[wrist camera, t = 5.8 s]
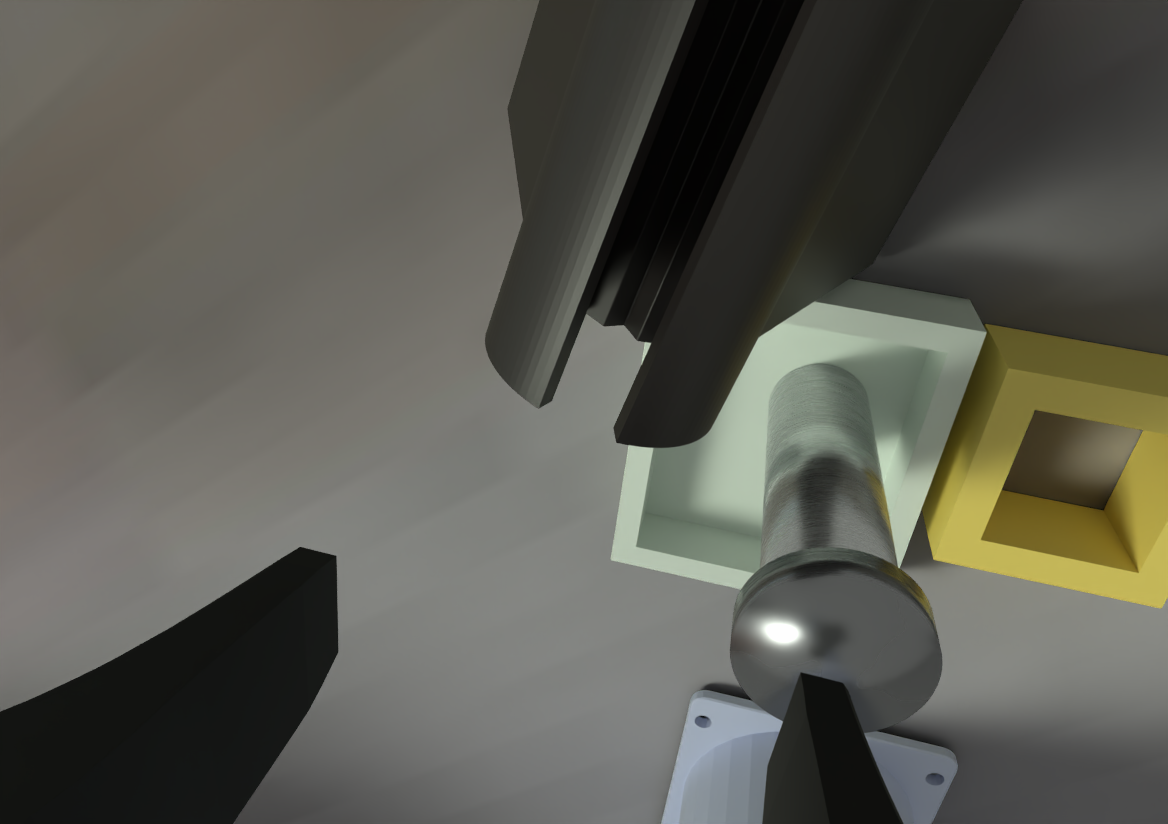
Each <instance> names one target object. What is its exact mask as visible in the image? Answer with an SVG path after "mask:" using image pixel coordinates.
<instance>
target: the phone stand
mask: <svg viewBox="0 0 1168 824" xmlns="http://www.w3.org/2000/svg"><path fill="white" fill-rule="evenodd" d="M1022 1H1023V0H540V1H539V4H538V8H537V11H536V14H535V18H534V21H533V24H532V28H531V31H530V35H529V38H528V41H527V45H526V48H525V51H524V55H523V58H522V61H521V65H520V68H519V72H518V75H517V78H516V82H515V85H514V88H513V92H512V95H511V99H510V102H509V105H508V116H509V123H510V130H511V137H512V144H513V151H514V158H515V165H516V173H517V180H518V187H519V194H520V201H521V208H522V215H523V222H522V225H521V228H520V231H519V234H518V237H517V240H516V243H515V247H514V250H513V253H512V256H511V259H510V262H509V265H508V268H507V271H506V274H505V277H504V280H503V283H502V286H501V289H500V292H499V295H498V298H497V301H496V304H495V307H494V311H493V314H492V317H491V320H490V323H489V326H488V329H487V332H486V337H485V345H486V350H487V353H488V356H489V358H490V361H491V362H492V364H493V366H494V368H495V369H496V371H497V372H498V373H499V375H500V376H501V377H502V378H503V379H504V381H505V382H506V383H507V384H508V385H509V386H510V387H511V388H512V389H513V390H514V391H516V392H517V393H518V394H519V395H520V396H521V397H523V398H524V399H525V400H527V401H528V402H529V403H531V404H532V405H533V406H535V407H536V408H538V409H539V408H541V407H542V406H544V405H546V404H547V403H549V402H551V401H552V399H553V396H554V394H555V391H556V389H557V386H558V384H559V381H560V379H561V376H562V373H563V371H564V368H565V366H566V363H567V361H568V358H569V356H570V353H571V351H572V348H573V345H574V343H575V340H576V338H577V335H578V333H579V330H580V328H581V325H582V323H583V320H584V317H585V315H586V314H588V315H589V316H590V317H592V318H593V319H594V320H596V321H597V322H599V323H600V324H601V325H603V326H617V325H624V326H626V328H627V329H628V330H629V331H630V333H631V334H632V335H633V336H634V338H635V339H636V340H637V341H642V342H647V343H651V345H650V347H649V349H648V352H647V354H646V356H645V358H644V361H643V363H642V365H641V367H640V369H639V372H638V374H637V376H636V378H635V381H634V383H633V385H632V387H631V390H630V392H629V394H628V396H627V399H626V401H625V403H624V405H623V408H622V410H621V412H620V414H619V416H618V419H617V421H616V423H615V425H614V433H615V438H616V443H621V444H625V445H631V446H638V447H646V448H671V447H679V446H683V445H687V444H690V443H693V442H695V441H697V440H699V439H701V438H702V437H704V436H705V435H706V434H707V433H708V432H709V431H710V430H711V428H712V426H713V424H714V422H715V420H716V419H717V417H718V415H719V413H720V411H721V409H722V407H723V405H724V403H725V401H726V399H727V397H728V395H729V394H730V392H731V390H732V388H733V386H734V384H735V382H736V380H737V378H738V376H739V374H740V372H741V370H742V369H743V367H744V365H745V363H746V361H747V359H748V357H749V355H750V353H751V351H752V349H753V347H754V345H755V344H756V342H757V340H758V338H759V337H760V336H762V335H763V334H765V333H766V332H768V331H769V330H771V329H773V328H774V327H776V326H777V325H779V324H780V323H782V322H783V321H785V320H786V319H788V318H790V317H791V316H793V315H794V314H796V313H797V312H799V311H800V310H802V309H803V308H805V307H807V306H808V305H810V304H811V303H813V302H814V301H816V300H817V299H819V298H820V297H822V296H824V295H825V294H827V293H828V292H830V291H831V290H833V289H834V288H836V287H838V286H839V285H841V284H842V283H844V282H845V281H847V280H848V279H850V278H851V277H853V276H855V275H856V274H858V273H859V272H861V271H862V270H864V269H865V268H867V267H868V266H870V265H872V264H873V262H874V260H875V259H876V257H877V255H878V253H879V252H880V250H881V248H882V246H883V245H884V243H885V241H886V239H887V238H888V236H889V234H890V232H891V231H892V229H893V227H894V225H895V224H896V222H897V220H898V218H899V217H900V215H901V213H902V211H903V210H904V208H905V206H906V204H907V203H908V201H909V199H910V197H911V196H912V194H913V192H914V190H915V189H916V187H917V185H918V183H919V182H920V180H921V178H922V176H923V175H924V173H925V171H926V169H927V167H928V166H929V164H930V162H931V160H932V159H933V157H934V155H935V153H936V152H937V150H938V148H939V146H940V145H941V143H942V141H943V139H944V138H945V136H946V134H947V132H948V131H949V129H950V127H951V125H952V124H953V122H954V120H955V118H956V117H957V115H958V113H959V111H960V110H961V108H962V106H963V104H964V103H965V101H966V99H967V97H968V96H969V94H970V92H971V90H972V89H973V87H974V85H975V83H976V82H977V80H978V78H979V76H980V75H981V73H982V71H983V69H984V68H985V66H986V64H987V62H988V61H989V59H990V57H991V55H992V54H993V52H994V50H995V48H996V47H997V45H998V43H999V41H1000V40H1001V38H1002V36H1003V34H1004V33H1005V31H1006V29H1007V27H1008V26H1009V24H1010V22H1011V20H1012V19H1013V17H1014V15H1015V13H1016V12H1017V10H1018V8H1019V6H1020V4H1021V3H1022Z"/></svg>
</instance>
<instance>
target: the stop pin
mask: <svg viewBox="0 0 1168 824" xmlns="http://www.w3.org/2000/svg"><path fill="white" fill-rule="evenodd" d="M730 658H731V664H732V668H733V671H734V674H735V676H736V678H737V680H738V682H739V684H740V686H741V687H742V688H743V690H744V691H745V693H746V694H747V695H748V696H749V697H750V698H751V699H752V700H753V701H754V702H755V703H756V704H757V705H758V706H759V707H761V708H762V709H763V710H764V711H766V712H767V713H769V714H770V715H772V716H773V717H775V718H777V719H779V720H781V721H783V720H784V717H785V715H786V712H787V709H788V706H789V703H790V700H791V698H792V695H793V692H794V689H795V686H796V683H797V681H798V678H799V675H800V672H802V673H806V674H810V675H814V676H818V677H822V678H826V679H830V680H834V681H838V682H842V683H844V685H845V686H846V688H847V689H848V691H849V694H850V697H851V700H852V703H853V705H854V708H855V711H856V714H857V716H858V719H859V722H860V724H861V727H862V729H863V732H864V733H868V732H874V731H878V730H881V729H885V728H888V727H890V726H893V725H895V724H898V723H899V722H901V721H903V720H905V719H907V718H908V717H910V716H911V715H913V714H914V713H915V712H917V711H918V710H919V709H920V708H921V707H922V706H923V705H924V704H925V703H926V702H927V701H928V700H929V698H930V697H931V696H932V694H933V693H934V691H935V689H936V687H937V685H938V682H939V679H940V676H941V671H942V653H941V649H940V644H939V639H938V635H937V630H936V625H935V621H934V616H933V612H932V608H931V606H930V603H929V601H928V599H927V597H926V596H925V594H924V592H923V591H922V589H921V588H920V587H919V586H918V584H917V583H916V582H915V581H914V580H913V579H912V578H911V577H910V576H909V575H907V574H906V573H905V572H904V571H902V570H901V569H899V568H898V563H897V558H896V552H895V546H894V541H893V535H892V529H891V524H890V518H889V512H888V506H887V501H886V495H885V489H884V484H883V478H882V472H881V467H880V461H879V455H878V450H877V444H876V438H875V433H874V427H873V421H872V416H871V410H870V404H869V399H868V395H867V392H866V390H865V388H864V386H863V385H862V383H861V382H860V381H859V380H858V379H857V378H856V377H855V376H854V375H853V374H851V373H850V372H849V371H847V370H845V369H843V368H840V367H838V366H834V365H830V364H809V365H805V366H801V367H799V368H796V369H794V370H792V371H790V372H789V373H787V374H786V375H785V376H784V377H782V378H781V379H780V380H779V381H778V383H777V384H776V385H775V387H774V389H773V391H772V393H771V395H770V398H769V405H768V424H767V443H766V462H765V481H764V499H763V518H762V537H761V556H760V569H759V570H757V571H756V572H755V573H754V574H753V575H752V576H751V577H750V578H749V579H748V581H747V582H746V583H745V584H744V586H743V587H742V589H741V591H740V593H739V595H738V597H737V600H736V603H735V607H734V612H733V622H732V633H731V644H730Z"/></svg>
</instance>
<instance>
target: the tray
mask: <svg viewBox="0 0 1168 824" xmlns="http://www.w3.org/2000/svg"><path fill="white" fill-rule="evenodd" d="M986 333H987V332H986V330H985V328H984V326H983V324H982V322H981V320H980V318H979V316H978V315H977V313H976V311H975V309H974V307H973V305H972V303H971V301H970V299H964V298H958V297H952V296H947V295H941V294H935V293H929V292H923V291H918V290H912V289H906V288H900V287H895V286H889V285H883V284H877V283H872V282H866V281H860V280H854V279H848V280H847V281H845V282H844V283H842V284H841V285H839V286H838V287H836V288H834V289H833V290H831V291H830V292H828V293H827V294H825V295H824V296H822V297H820V298H819V299H817V300H816V301H814V302H813V303H811V304H810V305H808V306H807V307H805V308H803V309H802V310H800V311H799V312H797V313H796V314H794V315H793V316H791V317H790V318H788V319H786V320H785V321H783V322H782V323H780V324H779V325H777V326H776V327H774V328H773V329H771V330H769V331H768V332H766V333H765V334H763V335H762V336H760V337H759V338H758V340H757V342H756V344H755V345H754V347H753V349H752V351H751V353H750V355H749V357H748V359H747V361H746V363H745V365H744V367H743V369H742V370H741V372H740V374H739V376H738V378H737V380H736V382H735V384H734V386H733V388H732V390H731V392H730V394H729V395H728V397H727V399H726V401H725V403H724V405H723V407H722V409H721V411H720V413H719V415H718V417H717V419H716V420H715V422H714V424H713V426H712V428H711V430H710V431H709V432H708V433H707V434H706V435H705V436H704V437H702V438H701V439H699V440H697V441H695V442H693V443H690V444H687V445H683V446H679V447H671V448H646V447H638V446H631V445H629V447H628V453H627V460H626V466H625V472H624V478H623V485H622V491H621V497H620V504H619V510H618V516H617V523H616V529H615V535H614V542H613V548H612V554H611V560H613V561H617V562H622V563H626V564H631V565H635V566H640V567H644V568H648V569H653V570H657V571H662V572H666V573H671V574H675V575H679V576H684V577H688V578H693V579H697V580H702V581H706V582H710V583H715V584H719V585H724V586H728V587H733V588H737V589H742V587H743V586H744V584H745V583H746V582H747V581H748V579H749V578H750V577H751V576H752V575H753V574H754V573H755V572H756V571H757V570H759V569H760V556H761V537H762V518H763V499H764V481H765V462H766V443H767V424H768V405H769V398H770V395H771V393H772V391H773V389H774V387H775V385H776V384H777V383H778V381H779V380H780V379H781V378H782V377H784V376H785V375H786V374H787V373H789V372H790V371H792V370H794V369H796V368H799V367H801V366H805V365H809V364H830V365H834V366H838V367H840V368H843V369H845V370H847V371H849V372H850V373H851V374H853V375H854V376H855V377H856V378H857V379H858V380H859V381H860V382H861V383H862V385H863V386H864V388H865V390H866V392H867V395H868V399H869V404H870V410H871V416H872V421H873V427H874V433H875V438H876V444H877V450H878V455H879V461H880V467H881V472H882V478H883V484H884V489H885V495H886V501H887V506H888V512H889V518H890V524H891V529H892V535H893V541H894V546H895V552H896V558H897V563H898V568H900V566H901V563H902V560H903V558H904V555H905V552H906V550H907V547H908V544H909V541H910V539H911V536H912V533H913V531H914V528H915V525H916V522H917V520H918V517H919V514H920V512H921V509H922V506H923V504H924V501H925V498H926V495H927V493H928V490H929V487H930V485H931V482H932V479H933V477H934V474H935V471H936V468H937V466H938V463H939V460H940V458H941V455H942V452H943V449H944V447H945V444H946V441H947V439H948V436H949V433H950V431H951V428H952V425H953V422H954V420H955V417H956V414H957V412H958V409H959V406H960V404H961V401H962V398H963V395H964V393H965V390H966V387H967V385H968V382H969V379H970V376H971V374H972V371H973V368H974V366H975V363H976V360H977V358H978V355H979V352H980V349H981V347H982V344H983V341H984V339H985V336H986ZM650 345H651V343H647V342H645V346H644V352H643V358H642V363H643V361H644V358H645V356H646V354H647V352H648V349H649V347H650Z"/></svg>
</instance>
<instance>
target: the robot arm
mask: <svg viewBox="0 0 1168 824" xmlns="http://www.w3.org/2000/svg"><path fill="white" fill-rule="evenodd" d="M337 654H338V612H337V563H336V556H334V555H330V554H326V553H322V552H318V551H314V550H310V549H306V548H302V547H299V548H298V549H296V550H294V551H293V552H291V553H290V554H288V555H286V556H285V557H283V558H281V559H280V560H278V561H277V562H275V563H273V564H272V565H270V566H269V567H267V568H266V569H264V570H262V571H261V572H259V573H258V574H256V575H255V576H253V577H251V578H250V579H248V580H247V581H245V582H244V583H242V584H240V585H239V586H237V587H236V588H234V589H233V590H231V591H229V592H228V593H226V594H225V595H223V596H222V597H220V598H218V599H217V600H215V601H213V602H212V603H210V604H209V605H207V606H205V607H204V608H202V609H200V610H199V611H197V612H195V613H194V614H192V615H191V616H189V617H187V618H186V619H184V620H182V621H181V622H179V623H177V624H176V625H174V626H172V627H171V628H169V629H167V630H166V631H164V632H162V633H160V634H158V635H157V636H155V637H153V638H151V639H149V640H148V641H146V642H144V643H142V644H140V645H139V646H137V647H135V648H133V649H132V650H130V651H128V652H126V653H124V654H123V655H121V656H119V657H117V658H115V659H113V660H112V661H110V662H108V663H106V664H104V665H102V666H100V667H98V668H96V669H94V670H92V671H90V672H88V673H86V674H84V675H82V676H80V677H78V678H76V679H74V680H71V681H69V682H67V683H65V684H63V685H61V686H59V687H56V688H54V689H52V690H50V691H48V692H46V693H44V694H41V695H39V696H37V697H35V698H32V699H30V700H28V701H26V702H23V703H21V704H18V705H16V706H13V707H11V708H8V709H6V710H3V711H1V712H0V824H233V823H234V821H235V820H236V818H237V817H238V815H239V814H240V812H241V811H242V809H243V808H244V806H245V805H246V803H247V802H248V800H249V799H250V797H251V796H252V795H253V793H254V792H255V790H256V789H257V787H258V786H259V784H260V783H261V781H262V780H263V778H264V777H265V775H266V774H267V772H268V771H269V769H270V768H271V766H272V765H273V763H274V762H275V761H276V759H277V758H278V756H279V755H280V753H281V752H282V750H283V749H284V747H285V746H286V744H287V743H288V741H289V740H290V738H291V737H292V735H293V734H294V732H295V731H296V729H297V728H298V726H299V725H300V723H301V721H302V720H303V718H304V717H305V715H306V714H307V712H308V711H309V709H310V707H311V705H312V703H313V701H314V699H315V697H316V696H317V694H318V692H319V690H320V688H321V686H322V684H323V682H324V680H325V678H326V676H327V674H328V672H329V670H330V668H331V666H332V664H333V662H334V660H335V658H336V656H337ZM700 716H706V717H708V718H702V717H700ZM957 769H958V764H957V759H956V756H955V754H954V753H953V752H952V751H951V750H949V749H946V748H944V747H940V746H936V745H932V744H928V743H924V742H919V741H915V740H911V739H907V738H903V737H899V736H895V735H891V734H887V733H882V732H878V731H874V732H868V733H864V732H863V729H862V727H861V724H860V722H859V719H858V716H857V714H856V711H855V708H854V705H853V703H852V700H851V697H850V694H849V691H848V689H847V688H846V686H845V685H844V683H842V682H838V681H834V680H830V679H826V678H822V677H818V676H814V675H810V674H806V673H802V672H800V675H799V678H798V681H797V683H796V686H795V689H794V692H793V695H792V698H791V700H790V703H789V706H788V709H787V712H786V715H785V717H784V720H783V721H781V720H779V719H777V718H775V717H773V716H772V715H770V714H769V713H767V712H766V711H764V710H763V709H762V708H761V707H759V706H758V705H757V704H756V703H755V702H754V701H751V700H747V699H743V698H738V697H734V696H730V695H726V694H722V693H718V692H714V691H709V690H701V691H697V692H696V693H694V694H693V696H692V697H691V701H690V705H689V709H688V713H687V717H686V721H685V726H684V730H683V734H682V738H681V742H680V746H679V750H678V755H677V759H676V763H675V767H674V771H673V775H672V780H671V784H670V788H669V792H668V796H667V800H666V805H665V809H664V813H663V817H662V821H661V824H932V822H933V820H934V818H935V816H936V814H937V812H938V810H939V808H940V806H941V804H942V802H943V799H944V797H945V795H946V793H947V791H948V789H949V787H950V785H951V783H952V781H953V779H954V777H955V775H956V773H957ZM931 773H938V774H936V775H933V774H931Z"/></svg>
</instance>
